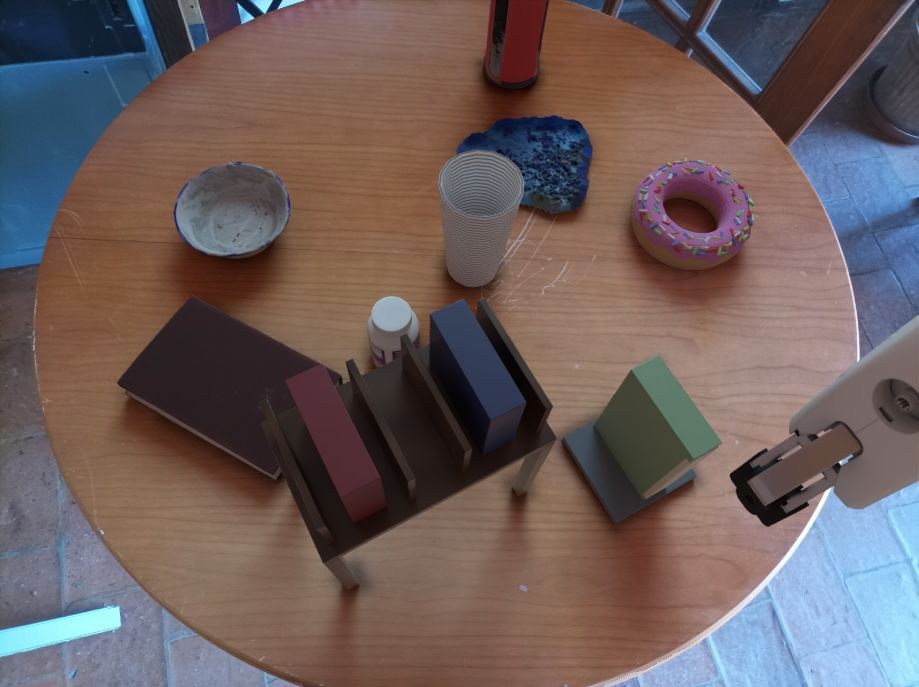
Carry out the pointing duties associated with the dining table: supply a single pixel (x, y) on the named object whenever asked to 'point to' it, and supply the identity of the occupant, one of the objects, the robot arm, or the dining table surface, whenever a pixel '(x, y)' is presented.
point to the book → (218, 380)
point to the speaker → (514, 42)
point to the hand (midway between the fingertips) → (819, 457)
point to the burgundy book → (338, 442)
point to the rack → (405, 445)
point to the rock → (542, 158)
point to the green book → (654, 428)
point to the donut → (703, 188)
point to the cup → (478, 213)
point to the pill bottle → (391, 329)
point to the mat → (610, 474)
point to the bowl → (232, 210)
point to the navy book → (474, 377)
